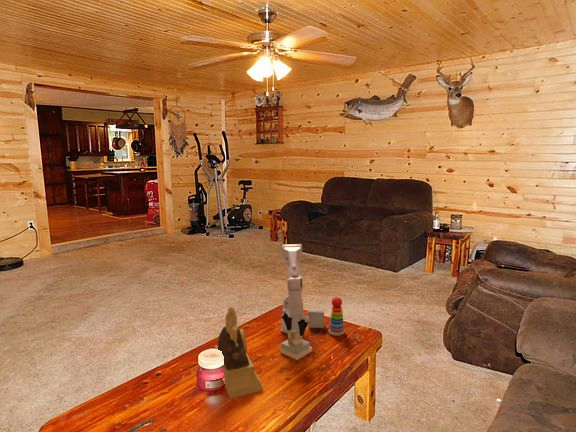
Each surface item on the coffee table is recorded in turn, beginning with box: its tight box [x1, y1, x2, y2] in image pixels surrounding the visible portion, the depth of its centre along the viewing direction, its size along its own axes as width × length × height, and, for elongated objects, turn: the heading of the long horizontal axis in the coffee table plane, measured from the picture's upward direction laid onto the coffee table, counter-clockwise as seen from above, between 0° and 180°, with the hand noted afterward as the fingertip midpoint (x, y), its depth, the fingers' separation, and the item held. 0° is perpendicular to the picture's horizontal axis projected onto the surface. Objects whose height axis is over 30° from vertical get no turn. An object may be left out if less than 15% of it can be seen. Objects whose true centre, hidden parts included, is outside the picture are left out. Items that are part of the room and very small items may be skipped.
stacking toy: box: [328, 296, 346, 337], centre depth 192 cm, size 8×8×19 cm
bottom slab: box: [280, 346, 313, 361], centre depth 176 cm, size 10×10×2 cm
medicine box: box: [307, 308, 325, 329], centre depth 200 cm, size 8×4×9 cm, turn 84°
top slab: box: [280, 339, 311, 355], centre depth 175 cm, size 9×9×2 cm
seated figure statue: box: [214, 306, 264, 399], centre depth 156 cm, size 28×13×30 cm, turn 22°
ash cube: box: [287, 330, 304, 346], centre depth 175 cm, size 5×5×5 cm
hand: (295, 332), depth 174 cm, fingers open, 7 cm apart
